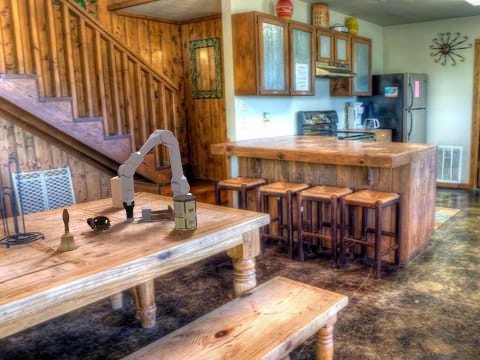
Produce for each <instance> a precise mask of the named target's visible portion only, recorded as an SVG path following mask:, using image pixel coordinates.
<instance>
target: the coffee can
mask: <svg viewBox="0 0 480 360" xmlns="http://www.w3.org/2000/svg"><path fill="white" fill-rule="evenodd" d="M172 202H173V209H174V210H173V220H174V229H175V230H176V231H182V232H184V231H192V230H196V229H197V228H198V217H197V216H198V214H197V196H196V195H180V196H175V197H174V196H173V198H172Z"/></svg>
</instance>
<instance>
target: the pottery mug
mask: <svg viewBox="0 0 480 360" xmlns="http://www.w3.org/2000/svg"><path fill="white" fill-rule="evenodd" d="M86 224H87V225H88V226H89V227H90V228H91V230H92V233H93V234H94V235H97V234H98V233H101V232H105V231H106V230H107V229H108V230H109V229H110V227H112V224H111V220H110V218H109V217H108V216H106V215H103V214H100V215H99V214H98V215H96V216H94V217H93V218H92V217H88V218H87V219H86Z"/></svg>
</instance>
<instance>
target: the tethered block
mask: <svg viewBox="0 0 480 360" xmlns="http://www.w3.org/2000/svg"><path fill="white" fill-rule="evenodd" d="M152 211H153V210H152V207H151V206H148V207H147V206H144V207H141V216H136V217H135V216H134V215H135V214H134V211H133V216H132V218H128V217H127V214H126V213H125V218H126V219H125V220H126V222H134V221H135V220H136V219H142V221H151V214H152Z"/></svg>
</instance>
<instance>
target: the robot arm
mask: <svg viewBox="0 0 480 360" xmlns="http://www.w3.org/2000/svg"><path fill="white" fill-rule="evenodd" d="M157 145H164V146H166V147H167V150H168V155H169V162H170V167H171V173H172V177H171V180H170V181H171V182H170V183H171V184H170V190H171V191H172V193H173V197H175V196H180V195H192V193H190V184H189V182H188V179H187V177H186V176H185V175H184V170H183V166H182V158H181V152H180V146H179V142H178V139H177V138H176V137H175V136H174V133H173V132H172V131H170V130H168V129H155V130H153V132H152V133H151V134H150V135H149V137H148V139H147V140H146V141H145V143H144V144H143V145H141V147H140V149H139V150H138V151H134V152H131V154H130V156H129V158H128V159H126V161H124V162H123V163H124V164H121V165H120V166H118V170H117V174H118V173H119V175H120V176H121V189H122V199H120V201H124V202H123V206H124V208H123V209H124V211H125V215H126V214H127V217H128V218H132V216H133V212H134V208H135V205H136V203H135V200H136V197H135V187H134V186H135V184H134V175H135V173H136V170H137V168H138V167H139V166H140V165H141V164H142V162H143V161H144V158H145V156H146V154H147V153H148V152H149V151H150V150H151V149H153V147H154V146H157ZM172 209H173V211H174V208H172Z"/></svg>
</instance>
